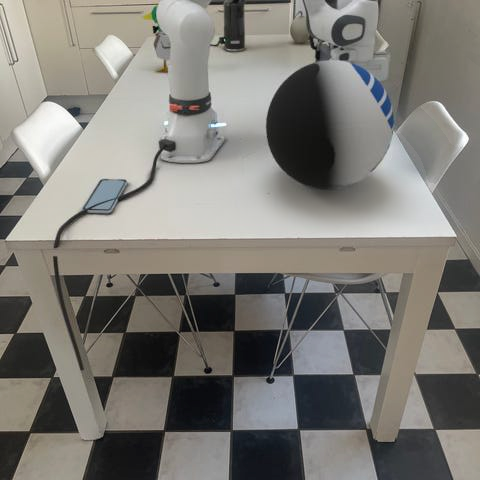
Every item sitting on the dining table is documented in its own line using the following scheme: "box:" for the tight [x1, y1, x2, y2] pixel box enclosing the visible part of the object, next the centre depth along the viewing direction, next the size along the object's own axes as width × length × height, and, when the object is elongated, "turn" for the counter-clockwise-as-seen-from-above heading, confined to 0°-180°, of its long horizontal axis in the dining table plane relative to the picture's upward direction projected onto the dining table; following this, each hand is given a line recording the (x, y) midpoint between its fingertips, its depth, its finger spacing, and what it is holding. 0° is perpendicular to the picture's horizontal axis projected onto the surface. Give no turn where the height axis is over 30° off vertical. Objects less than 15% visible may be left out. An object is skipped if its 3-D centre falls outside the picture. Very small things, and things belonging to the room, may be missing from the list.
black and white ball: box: [265, 60, 395, 190], centre depth 123 cm, size 30×30×30 cm
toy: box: [141, 4, 171, 73], centre depth 204 cm, size 8×20×24 cm, turn 69°
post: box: [314, 43, 332, 63], centre depth 188 cm, size 52×4×8 cm, turn 7°
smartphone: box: [81, 178, 128, 214], centre depth 127 cm, size 7×1×15 cm
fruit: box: [289, 10, 309, 44], centre depth 238 cm, size 10×12×15 cm
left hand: (354, 94), depth 171 cm, fingers closed on post, 4 cm apart
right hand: (323, 59), depth 205 cm, fingers closed on post, 4 cm apart
